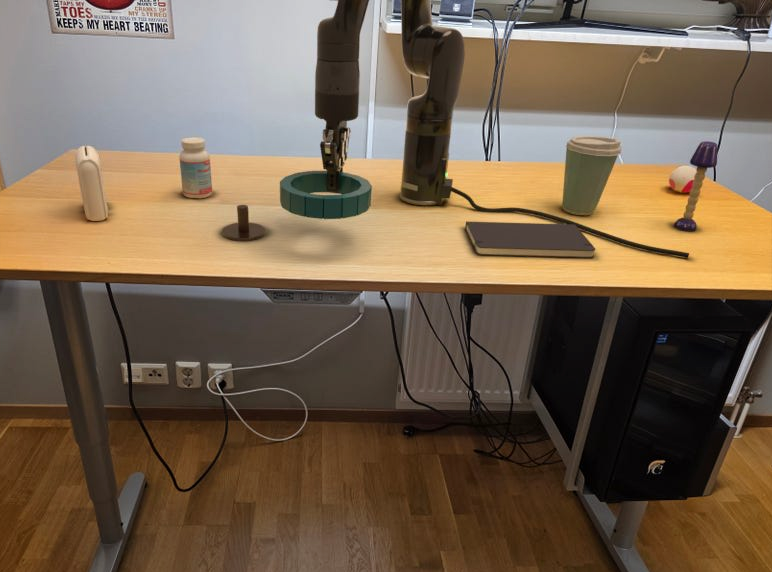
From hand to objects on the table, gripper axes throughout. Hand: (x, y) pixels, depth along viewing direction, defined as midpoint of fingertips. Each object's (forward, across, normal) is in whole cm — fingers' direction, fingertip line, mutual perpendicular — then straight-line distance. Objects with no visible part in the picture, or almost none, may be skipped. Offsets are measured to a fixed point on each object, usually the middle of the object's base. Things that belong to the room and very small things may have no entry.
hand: (334, 188), depth 120 cm
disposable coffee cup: (+8, +26, -47) cm, 54 cm away
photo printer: (+8, -5, +46) cm, 47 cm away
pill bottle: (+8, +11, +32) cm, 35 cm away
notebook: (+8, +4, -36) cm, 37 cm away
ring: (+1, -7, 0) cm, 7 cm away
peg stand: (+8, -7, +15) cm, 19 cm away
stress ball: (+7, +47, -72) cm, 86 cm away
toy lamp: (+8, +22, -67) cm, 71 cm away
